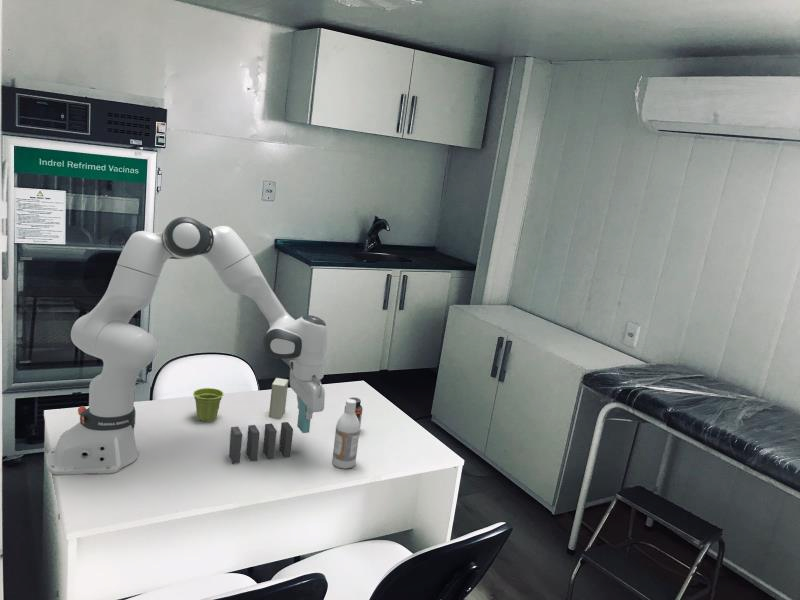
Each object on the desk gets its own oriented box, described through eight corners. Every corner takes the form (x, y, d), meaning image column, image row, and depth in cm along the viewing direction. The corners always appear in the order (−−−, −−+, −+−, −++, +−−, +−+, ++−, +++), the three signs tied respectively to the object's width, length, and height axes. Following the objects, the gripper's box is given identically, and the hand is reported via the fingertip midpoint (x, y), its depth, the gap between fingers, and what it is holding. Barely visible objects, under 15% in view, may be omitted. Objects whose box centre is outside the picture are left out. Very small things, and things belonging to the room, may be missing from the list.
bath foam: (327, 460, 188) (334, 397, 183) (347, 456, 192) (354, 395, 187) (339, 471, 182) (347, 407, 178) (359, 466, 187) (367, 403, 182)
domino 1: (232, 463, 178) (235, 434, 177) (228, 455, 183) (231, 426, 181) (239, 462, 179) (242, 433, 177) (235, 454, 184) (238, 426, 182)
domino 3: (267, 459, 183) (270, 431, 181) (262, 451, 188) (265, 424, 186) (274, 458, 184) (276, 430, 182) (269, 451, 188) (271, 423, 187)
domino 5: (303, 425, 192) (306, 398, 190) (309, 432, 188) (312, 404, 186) (297, 426, 191) (300, 398, 189) (302, 433, 187) (305, 405, 185)
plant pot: (188, 414, 206) (189, 389, 204) (216, 410, 211) (218, 386, 209) (196, 425, 198) (197, 400, 196) (225, 422, 204) (227, 397, 202)
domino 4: (283, 457, 186) (286, 429, 184) (278, 450, 190) (281, 422, 188) (290, 457, 187) (293, 429, 185) (285, 449, 191) (287, 421, 189)
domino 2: (250, 461, 181) (252, 432, 179) (245, 453, 185) (248, 425, 183) (257, 460, 182) (259, 432, 180) (252, 452, 186) (255, 424, 184)
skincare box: (272, 410, 217) (275, 377, 215) (285, 412, 217) (288, 379, 214) (268, 417, 211) (271, 383, 208) (281, 419, 211) (284, 385, 208)
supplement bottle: (341, 434, 206) (345, 401, 204) (342, 426, 212) (346, 395, 210) (359, 436, 207) (363, 403, 204) (359, 428, 212) (363, 397, 210)
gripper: (332, 382, 178) (327, 427, 181) (307, 358, 195) (303, 399, 198) (311, 384, 175) (306, 429, 178) (287, 359, 192) (283, 401, 195)
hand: (304, 413), depth 188 cm, fingers closed on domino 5, 5 cm apart
